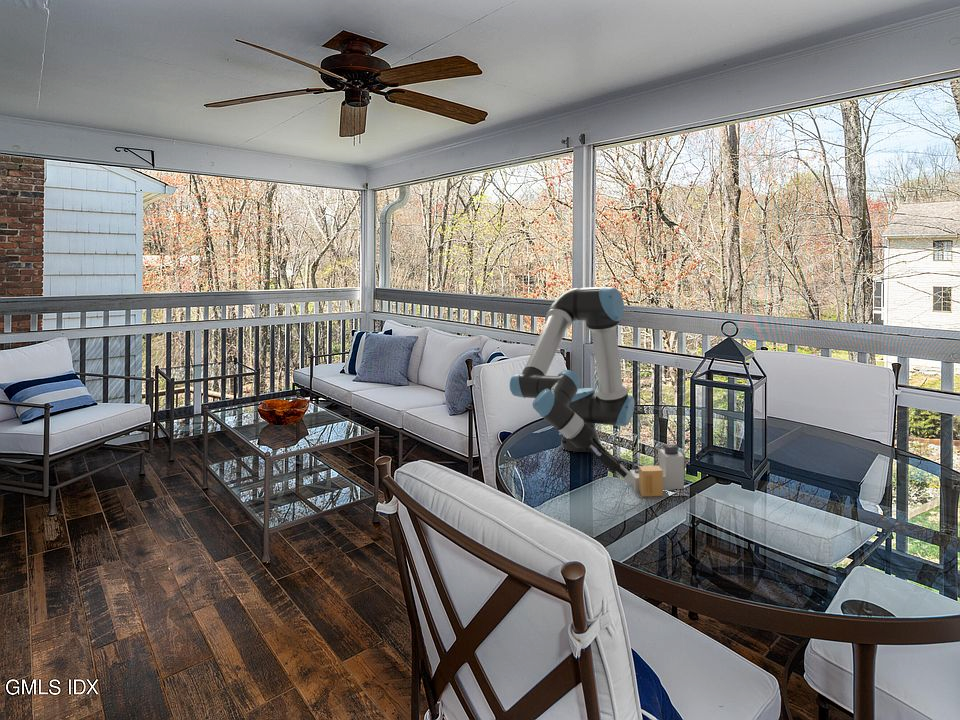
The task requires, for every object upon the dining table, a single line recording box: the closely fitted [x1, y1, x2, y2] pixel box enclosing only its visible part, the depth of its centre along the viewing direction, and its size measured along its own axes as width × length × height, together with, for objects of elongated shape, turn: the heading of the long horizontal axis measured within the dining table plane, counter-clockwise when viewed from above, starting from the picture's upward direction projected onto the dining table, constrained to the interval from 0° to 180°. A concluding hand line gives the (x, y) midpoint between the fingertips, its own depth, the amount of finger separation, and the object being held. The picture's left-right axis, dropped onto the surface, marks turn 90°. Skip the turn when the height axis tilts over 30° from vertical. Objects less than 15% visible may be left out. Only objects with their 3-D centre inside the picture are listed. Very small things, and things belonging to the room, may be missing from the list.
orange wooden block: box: [638, 465, 663, 497], centre depth 174 cm, size 6×5×8 cm
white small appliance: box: [629, 444, 685, 499], centre depth 178 cm, size 15×12×13 cm
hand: (632, 481), depth 174 cm, fingers closed
